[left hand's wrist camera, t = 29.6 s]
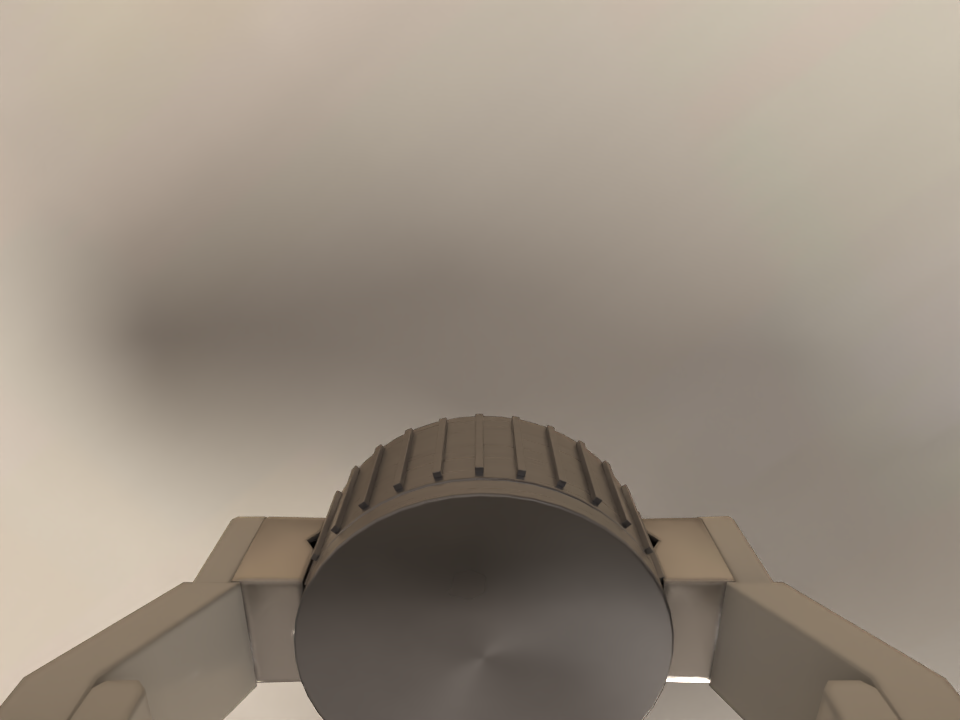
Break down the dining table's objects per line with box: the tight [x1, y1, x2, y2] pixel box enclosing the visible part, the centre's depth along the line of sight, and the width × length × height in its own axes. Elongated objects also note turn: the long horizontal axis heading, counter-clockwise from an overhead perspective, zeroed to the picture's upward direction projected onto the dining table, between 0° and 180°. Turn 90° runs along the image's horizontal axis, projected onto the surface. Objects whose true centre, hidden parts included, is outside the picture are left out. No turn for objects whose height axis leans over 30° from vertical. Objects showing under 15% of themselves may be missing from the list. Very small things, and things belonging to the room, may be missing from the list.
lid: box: [294, 414, 674, 720], centre depth 9 cm, size 5×5×2 cm
